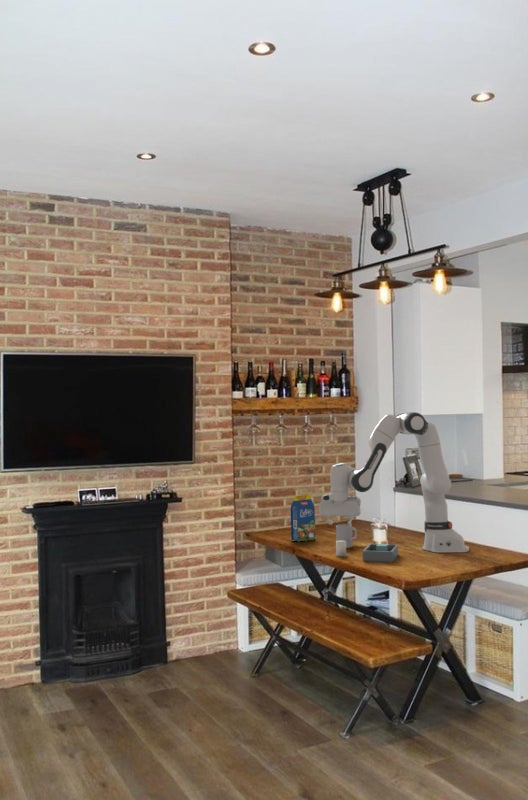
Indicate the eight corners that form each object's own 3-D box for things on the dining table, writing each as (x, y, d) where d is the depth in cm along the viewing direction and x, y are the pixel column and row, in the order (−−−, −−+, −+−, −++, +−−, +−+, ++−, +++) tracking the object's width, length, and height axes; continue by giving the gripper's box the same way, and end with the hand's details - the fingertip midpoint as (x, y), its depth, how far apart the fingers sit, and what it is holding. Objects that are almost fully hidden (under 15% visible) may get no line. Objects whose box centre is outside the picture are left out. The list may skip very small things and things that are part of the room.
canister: (347, 554, 365) (346, 540, 365) (345, 556, 360) (344, 542, 360) (337, 554, 366) (337, 540, 367) (335, 556, 362) (334, 542, 362)
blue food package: (315, 540, 407) (314, 494, 408) (298, 542, 401) (296, 496, 401) (308, 538, 413) (307, 493, 413) (291, 541, 406) (290, 495, 406)
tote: (398, 555, 361) (398, 544, 361) (392, 562, 343) (392, 551, 344) (369, 554, 365) (369, 543, 365) (363, 561, 348) (362, 550, 348)
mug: (341, 548, 380) (341, 527, 380) (333, 546, 388) (332, 525, 388) (361, 546, 385) (360, 525, 386) (352, 543, 393) (352, 523, 393)
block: (378, 554, 361) (377, 543, 361) (388, 554, 360) (388, 544, 360) (376, 556, 356) (376, 545, 356) (386, 556, 355) (386, 546, 355)
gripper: (361, 496, 363) (362, 524, 363) (321, 495, 370) (321, 523, 370) (359, 497, 357) (359, 526, 357) (318, 496, 364) (318, 525, 364)
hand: (340, 524), depth 363 cm, fingers open, 8 cm apart
